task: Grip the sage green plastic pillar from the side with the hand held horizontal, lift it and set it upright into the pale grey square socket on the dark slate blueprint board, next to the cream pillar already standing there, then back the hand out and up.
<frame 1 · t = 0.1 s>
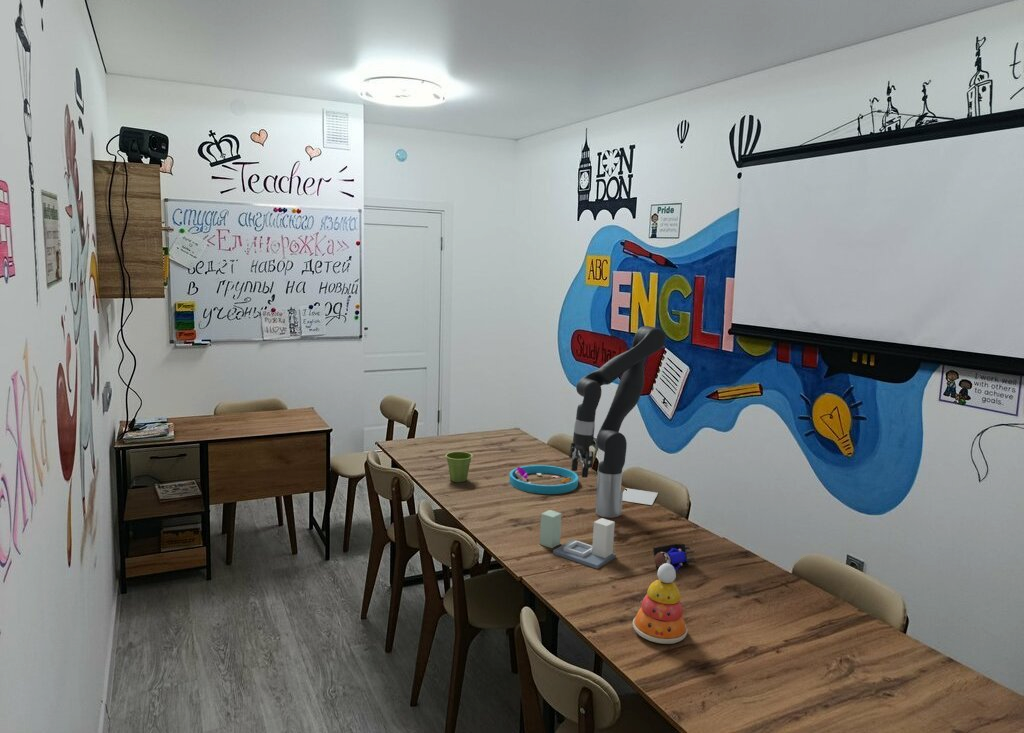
hand: (579, 473, 265), 17 cm above the table, tool pointing down, fingers open, 8 cm apart
sage pillar: (549, 544, 242), on the table
stacking toy: (659, 633, 186), on the table
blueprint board: (584, 555, 233), on the table
character figurine: (672, 568, 227), on the table
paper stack: (629, 493, 300), on the table
plant pot: (458, 480, 307), on the table
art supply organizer: (543, 484, 308), on the table
standing pillar: (602, 557, 233), resting on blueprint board
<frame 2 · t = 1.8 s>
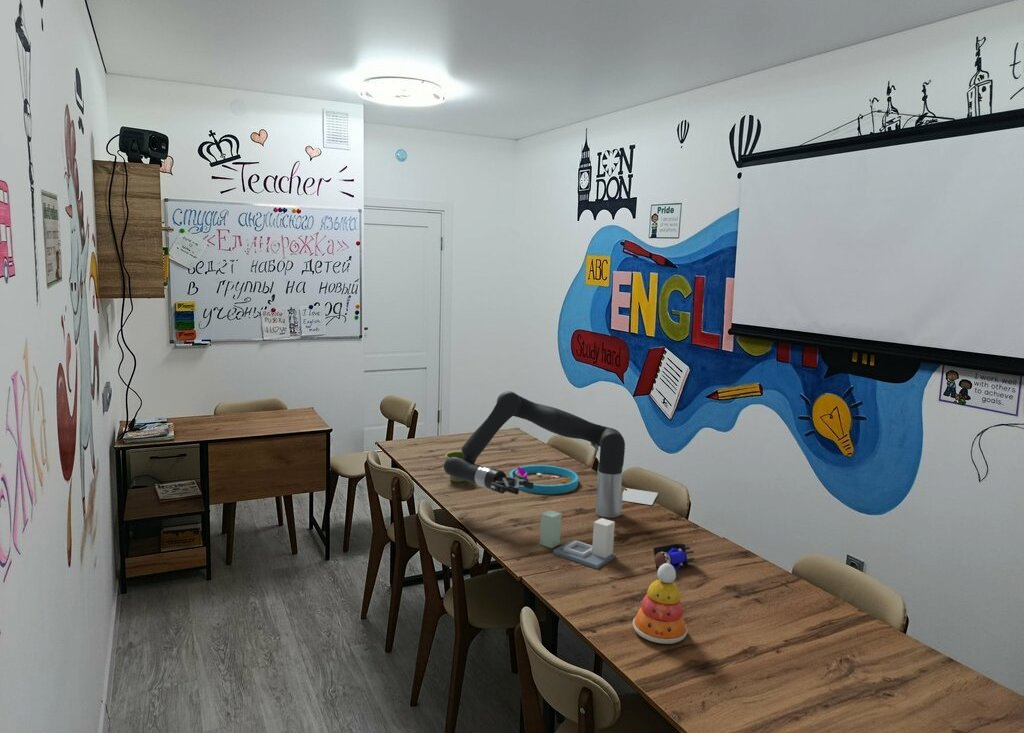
hand: (525, 488, 246), 17 cm above the table, tool horizontal, fingers open, 8 cm apart
nothing on the table moved.
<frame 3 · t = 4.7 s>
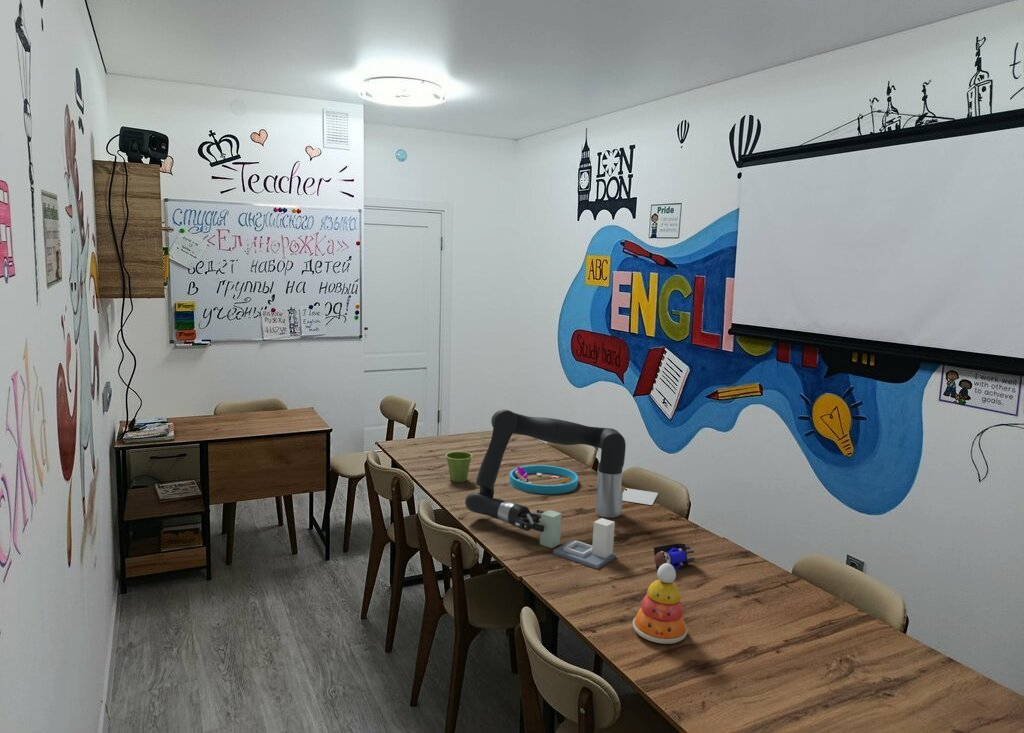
hand: (550, 525, 241), 7 cm above the table, tool horizontal, fingers open, 8 cm apart
nothing on the table moved.
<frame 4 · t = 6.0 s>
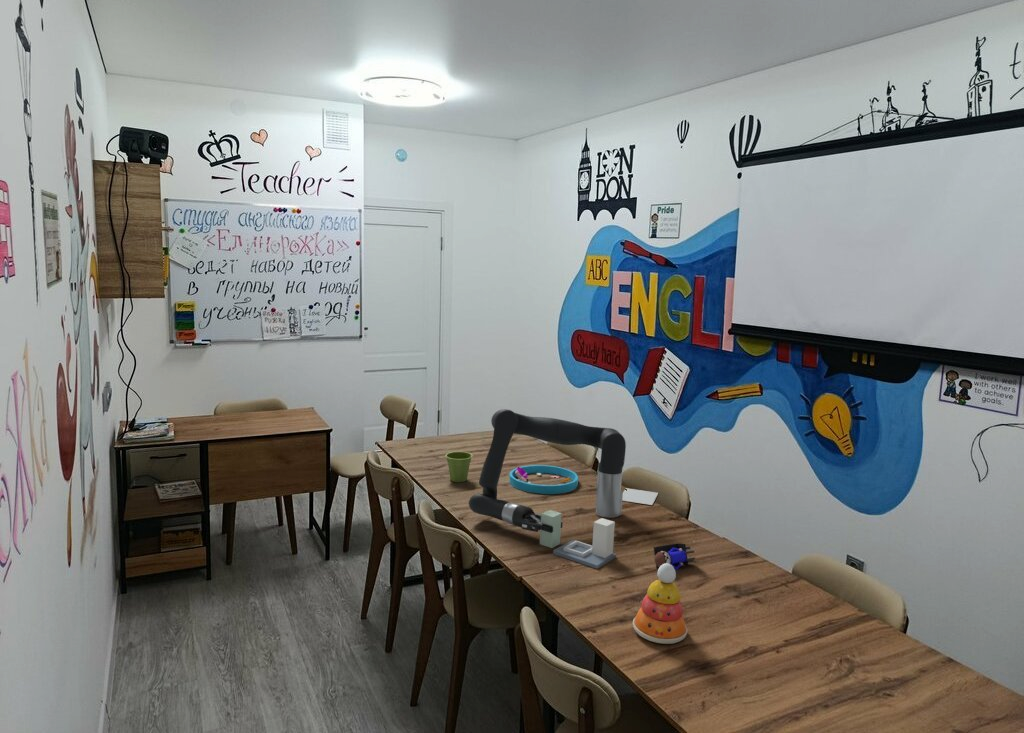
hand: (557, 527, 239), 7 cm above the table, tool horizontal, fingers closed on sage pillar, 5 cm apart
sage pillar: (549, 543, 242), on the table, touching gripper
everything else where it was.
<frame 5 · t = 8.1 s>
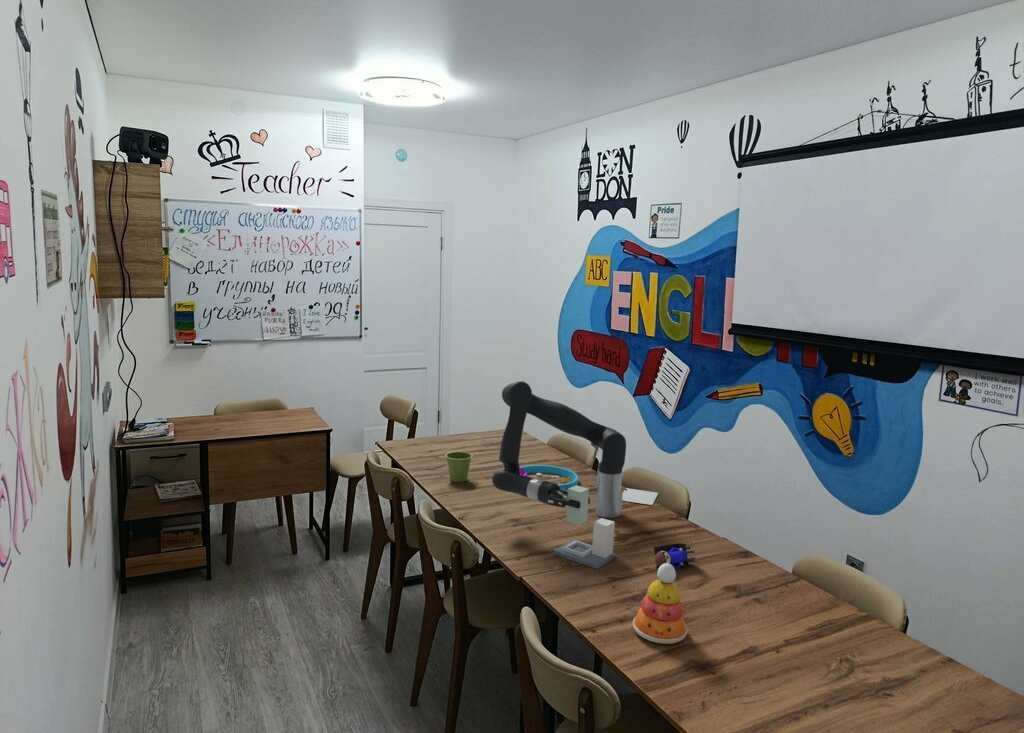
hand: (584, 503, 231), 18 cm above the table, tool horizontal, fingers closed on sage pillar, 5 cm apart
sage pillar: (576, 520, 234), point 11 cm above the table, touching gripper
everything else where it was.
when the fingers open (9 cm above the table, at t = 10.7 s): sage pillar drops 2 cm, resting on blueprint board.
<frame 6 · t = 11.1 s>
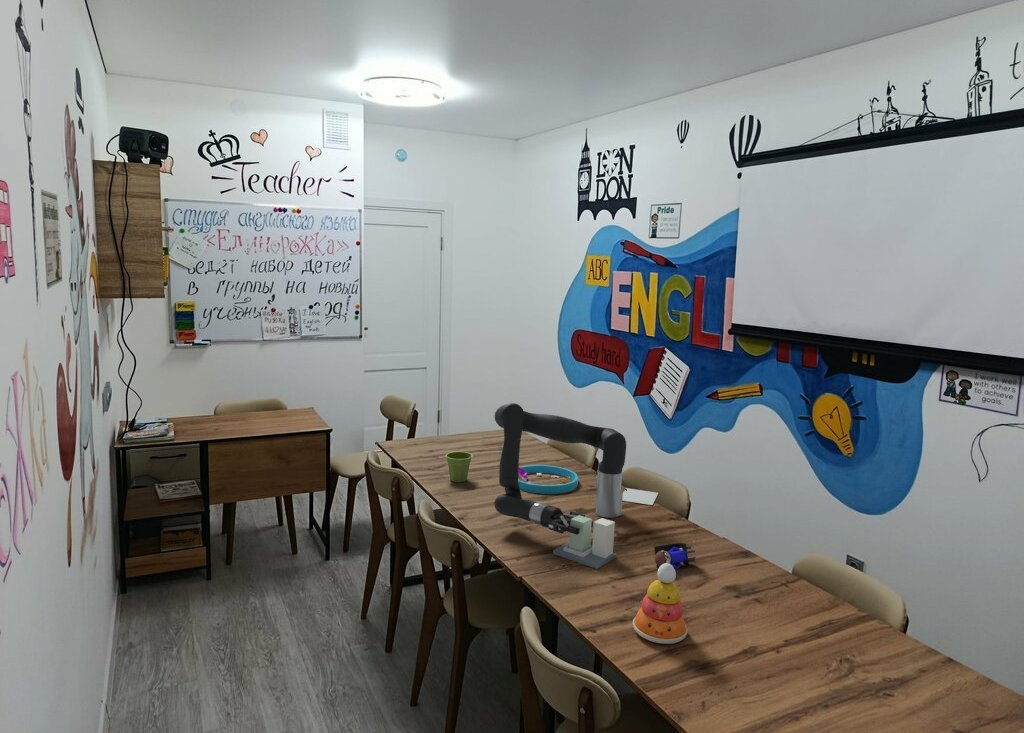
hand: (585, 527, 232), 10 cm above the table, tool horizontal, fingers open, 8 cm apart
sage pillar: (579, 550, 234), point 1 cm above the table, touching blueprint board
everything else where it was.
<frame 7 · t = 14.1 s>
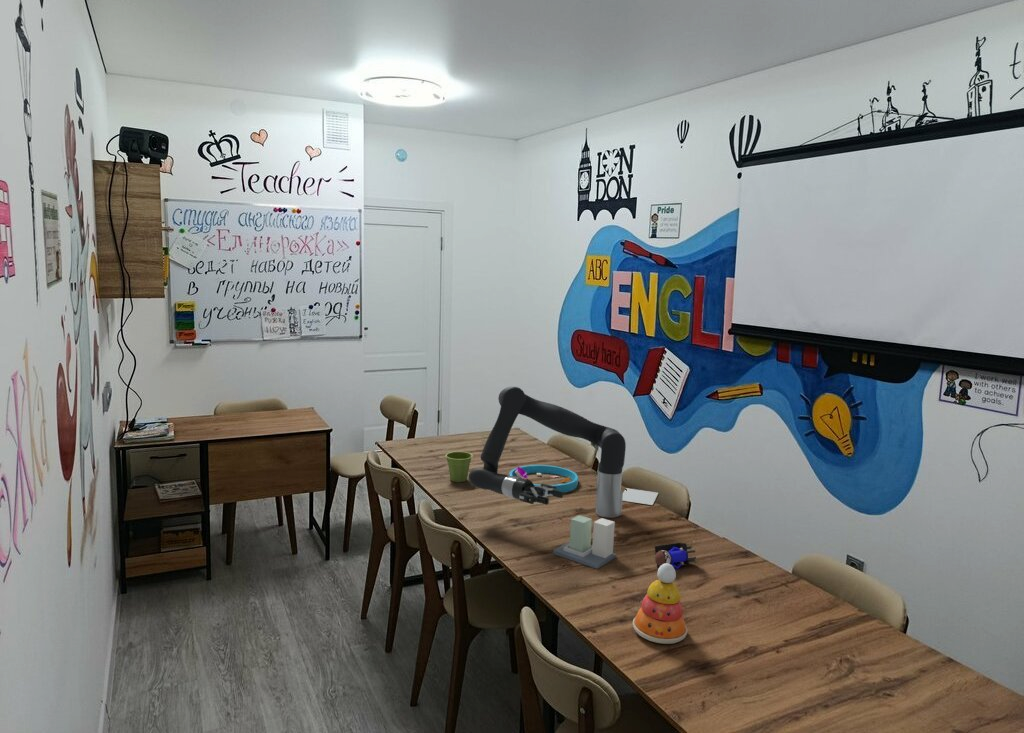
hand: (555, 498, 239), 17 cm above the table, tool horizontal, fingers open, 8 cm apart
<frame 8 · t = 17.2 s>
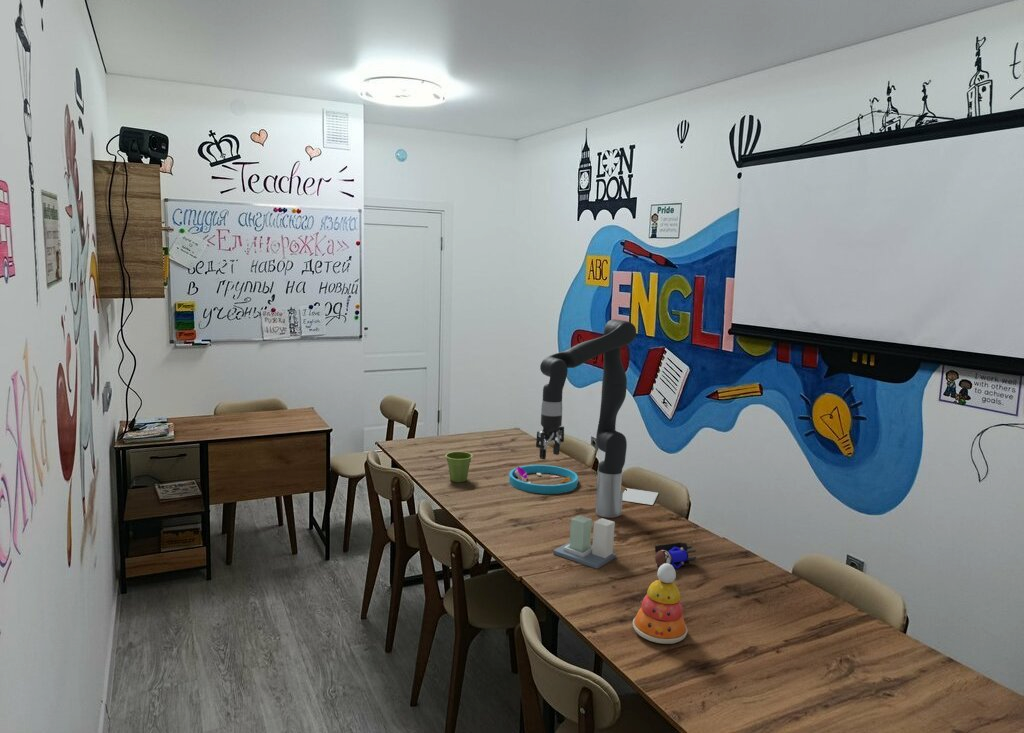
hand: (549, 456, 255), 26 cm above the table, tool pointing down, fingers open, 8 cm apart
at the end: sage pillar 0.0 cm from the target spot on the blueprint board, point 1.2 cm above the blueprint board's base; sage pillar tilted 0°; the gripper is holding nothing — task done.
